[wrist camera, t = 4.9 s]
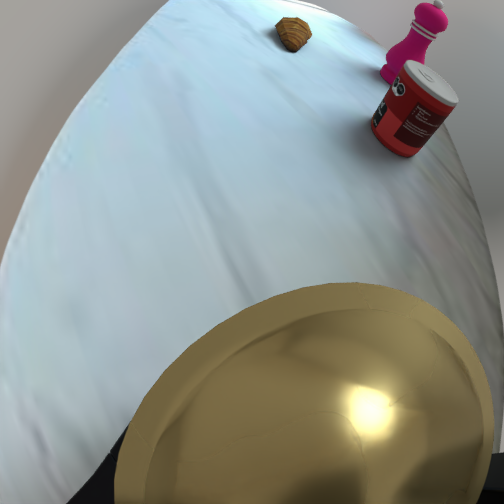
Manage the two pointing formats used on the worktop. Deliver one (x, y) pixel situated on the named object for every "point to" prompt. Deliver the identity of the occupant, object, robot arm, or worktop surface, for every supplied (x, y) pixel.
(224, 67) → the worktop surface
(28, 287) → the worktop surface
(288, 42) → the croissant
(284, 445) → the gold flanged cylinder
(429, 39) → the pepper mill
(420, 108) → the canned food
